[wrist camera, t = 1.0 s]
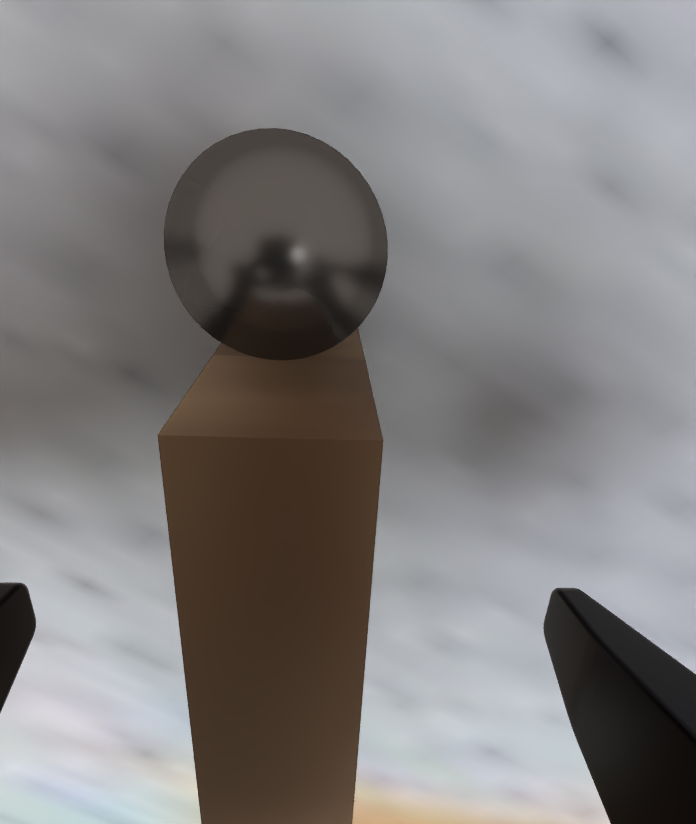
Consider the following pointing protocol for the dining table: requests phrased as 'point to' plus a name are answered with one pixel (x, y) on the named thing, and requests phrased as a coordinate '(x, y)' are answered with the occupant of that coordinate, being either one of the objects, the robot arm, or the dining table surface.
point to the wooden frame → (274, 577)
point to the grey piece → (275, 244)
